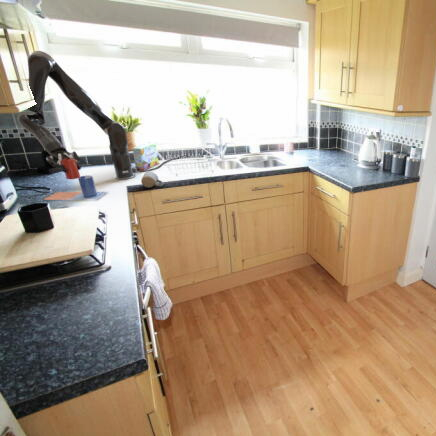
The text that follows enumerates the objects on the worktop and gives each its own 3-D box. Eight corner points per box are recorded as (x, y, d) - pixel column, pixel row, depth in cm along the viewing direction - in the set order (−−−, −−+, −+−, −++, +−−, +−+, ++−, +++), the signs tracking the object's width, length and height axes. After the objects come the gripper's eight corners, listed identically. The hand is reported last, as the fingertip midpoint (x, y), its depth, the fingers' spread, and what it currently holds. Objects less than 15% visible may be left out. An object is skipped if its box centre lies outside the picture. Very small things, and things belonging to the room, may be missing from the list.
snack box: (144, 171, 211) (140, 148, 205) (136, 170, 211) (131, 148, 205) (159, 163, 231) (155, 142, 224) (151, 163, 230) (147, 142, 224)
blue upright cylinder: (87, 193, 168) (82, 175, 163) (99, 193, 168) (94, 175, 164) (81, 197, 162) (75, 178, 158) (93, 197, 163) (88, 178, 159)
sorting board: (57, 193, 168) (56, 192, 168) (106, 192, 172) (106, 191, 171) (43, 200, 158) (43, 199, 158) (96, 199, 162) (96, 198, 162)
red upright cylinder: (70, 176, 173) (65, 157, 169) (82, 175, 174) (77, 157, 170) (64, 179, 168) (58, 160, 164) (76, 179, 169) (71, 160, 164)
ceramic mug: (141, 188, 179) (139, 175, 176) (144, 184, 187) (142, 171, 183) (162, 188, 182) (160, 175, 179) (164, 183, 190) (162, 171, 186)
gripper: (37, 143, 160) (60, 169, 160) (68, 138, 172) (89, 163, 173) (35, 152, 164) (56, 177, 164) (65, 147, 176) (85, 171, 177)
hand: (73, 170), depth 169 cm, fingers closed on red upright cylinder, 6 cm apart
